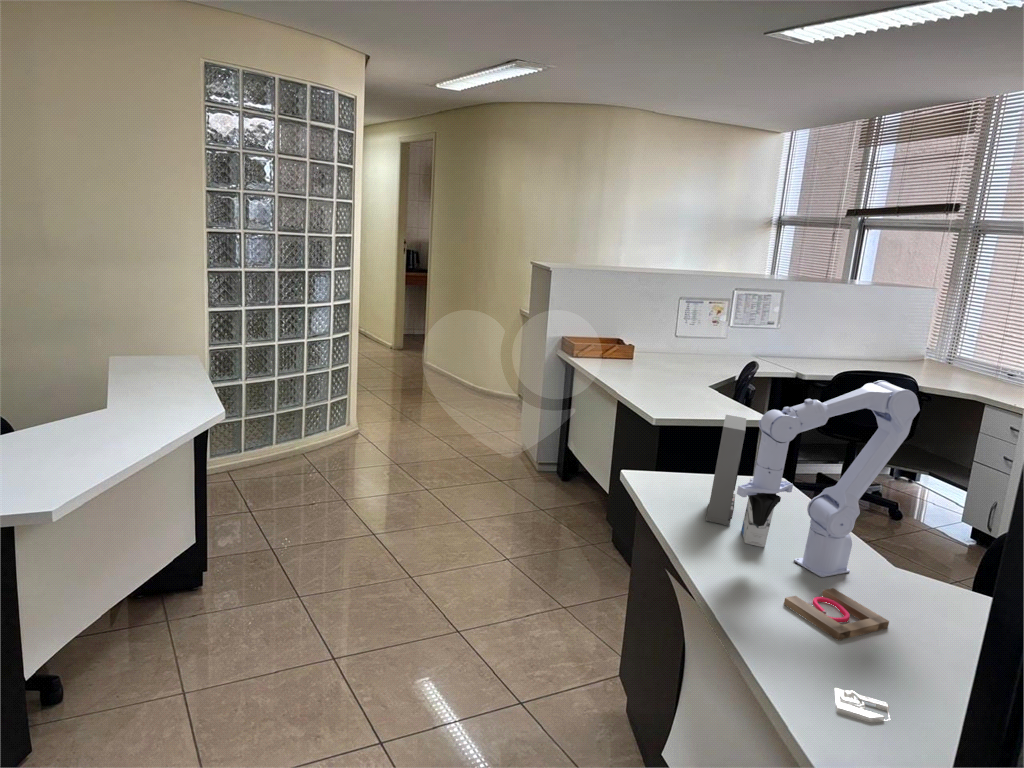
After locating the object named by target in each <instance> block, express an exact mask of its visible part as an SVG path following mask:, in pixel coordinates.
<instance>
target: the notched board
mask: <svg viewBox="0 0 1024 768" xmlns="http://www.w3.org/2000/svg"><path fill="white" fill-rule="evenodd" d="M822 596H823V597H825V598H829V599H832V600H834V601H836V602H837V603H839V604H840V605H841V606H843V607H844V608H845V609H846V610H847V611H848V613H850V615H851V616H853V617H854V616H855V617H854V618H855V619H857V620H856V621H854V622H853V621H852V622H849V623H848V622H847V623H842V624H841V623H838V622H837V621H835V620H833V619H832V618H830V617H831V616H830V617H829V615H827V613H826V614H824V613H822V612H821V611H819V610H818V609H816V608H815V607H813V606H812V604H810V603H808V602H806V600H803V599H802V598H801V597H799V596H797V595H791V596H788V597H784V601H783V605H784V604H785V605H786V606H785V605H784V606H785V607H787V606H788V607H789V608H788V607H787V608H788V609H790V608H791V609H792V610H791V609H790V610H791V611H793V610H794V611H795V612H794V611H793V612H794V613H796V612H797V613H798V614H797V613H796V614H797V615H799V614H800V615H801V617H802V616H803V617H804V618H803V617H802V618H803V619H805V618H806V619H807V620H806V619H805V620H806V621H808V622H809V621H810V622H809V623H811V624H812V623H813V624H812V625H814V626H815V625H816V626H815V627H817V628H818V629H820V630H821V631H823V632H824V633H826V634H828V635H830V637H832V638H834V639H835V640H836V641H842V640H845V639H846V640H847V639H850V638H851V639H852V638H855V637H858V636H862V635H866V634H871V633H873V632H877V631H881V630H885V629H888V627H889V624H890V620H888V619H886V617H883V616H881V615H880V614H878V613H876V612H875V611H873V610H872V609H870V608H868V607H866V606H864V605H863V604H862V603H860V602H858V601H856V600H854V599H853V598H851V597H849V596H847V595H846V594H844V593H842V592H840V591H839V590H837V588H834V587H832V588H827V589H826V588H825V589H823V590H822V594H821V597H822ZM800 615H799V616H800Z"/></svg>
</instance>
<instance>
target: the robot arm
mask: <svg viewBox="0 0 1024 768" xmlns="http://www.w3.org/2000/svg"><path fill="white" fill-rule="evenodd" d="M864 409H867V410H871V411H872V413H873V414H874V416H875V418H876V423H877V427H878V428H877V429H876V431H875V432H874V434H872V436H871V438H870V439H869V440H868V441H867V443H866V444H865V445H864V447H863V448H862V449H861V450H860V452H859V454H858V455H857V456H856V457H855V459H854V460H853V461H852V463H850V465H849V466H848V468H847V469H846V471H845V472H844V473H843V475H841V478H839V480H838V481H837V483H836V484H835V485H833V486H829V487H826V488H824V489H822V492H821V493H819V494H818V495H817V496H814V497H813V498H812V499H811V500H810V501H809V502H808V505H807V510H806V511H807V515H808V516H809V518H810V522H809V529H808V534H807V538H806V544H805V549H804V552H803V557H797V558H793V562H795V563H796V564H798V565H800V566H802V567H803V568H804V569H806V570H808V571H810V572H812V573H813V574H815V575H817V576H818V577H820V578H824V577H829V576H835V575H840V574H846V573H850V571H851V569H850V568H848V565H849V561H850V555H851V552H852V548H853V547H852V546H853V540H852V537H851V535H850V534H851V533H852V531H853V529H855V528H854V527H855V523H856V520H857V518H858V517H859V515H860V513H861V511H860V504H859V500H861V498H862V497H863V495H864V494H865V493H866V491H867V490H868V489H869V488H870V486H871V484H872V483H873V482H874V481H875V479H876V478H877V477H878V475H879V474H881V471H882V470H883V469H884V467H885V466H886V465H887V464H888V462H889V461H890V460H891V458H892V457H893V456H894V454H895V453H896V452H897V451H898V449H899V448H900V446H901V445H902V444H903V443H904V441H905V440H906V439H907V437H908V436H909V433H910V431H911V426H912V423H913V420H914V418H915V417H916V416H917V414H918V413H919V412H920V411H921V409H920V404H919V399H918V397H917V395H916V393H915V392H913V391H912V390H910V389H907V388H906V389H905V388H902V387H900V386H897V385H895V384H892V383H890V382H889V381H886V380H877V381H873V382H868V383H865V384H864V385H863V386H861V387H860V388H857V389H855V390H852V391H850V392H847V393H844V394H842V395H839V396H837V397H834V398H831V399H828V400H826V401H824V402H821V401H820V400H818V399H811V398H806V399H804V402H803V403H800V404H796V405H793V406H784V407H783V408H782V410H779V409H771V410H768V411H766V412H765V413H764V414H763V415H762V417H761V419H759V420H758V427H759V429H760V432H761V435H760V441H759V447H758V452H757V456H756V457H757V458H756V463H755V467H754V472H753V477H752V478H749V482H747V483H744V484H741V485H737V491H736V494H737V495H738V496H739V497H742V498H747V497H748V498H749V500H750V503H751V507H752V515H753V523H754V524H756V525H758V526H764V524H765V522H766V520H767V519H768V517H769V515H770V513H771V511H772V510H773V509H774V510H775V507H776V506H777V505H778V504H779V503H780V502H781V499H782V497H781V496H780V495H778V494H780V493H782V492H783V493H784V492H786V493H792V492H793V487H794V484H793V482H792V483H791V482H790V481H787V480H784V481H782V480H783V474H784V470H785V466H786V465H785V464H786V460H787V456H788V455H787V454H788V451H789V445H790V442H791V441H793V440H794V439H795V438H796V437H797V435H798V434H800V433H803V432H806V431H809V430H812V429H816V428H818V427H819V428H820V427H823V426H824V425H826V424H827V423H828V420H829V419H830V418H832V417H835V416H837V417H838V416H841V415H844V414H847V413H851V412H856V411H859V410H864ZM774 510H773V511H774Z"/></svg>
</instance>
